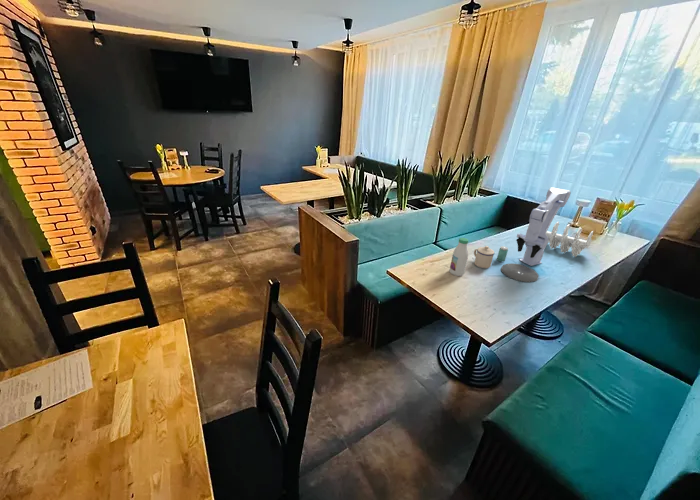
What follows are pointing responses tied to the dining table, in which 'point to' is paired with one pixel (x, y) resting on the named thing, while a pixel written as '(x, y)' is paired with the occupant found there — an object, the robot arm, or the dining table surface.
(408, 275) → the dining table surface
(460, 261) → the milk bottle
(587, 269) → the dining table surface
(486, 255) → the teacup with lid
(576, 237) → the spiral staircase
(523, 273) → the slate plate
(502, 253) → the pepper shaker
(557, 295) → the dining table surface
